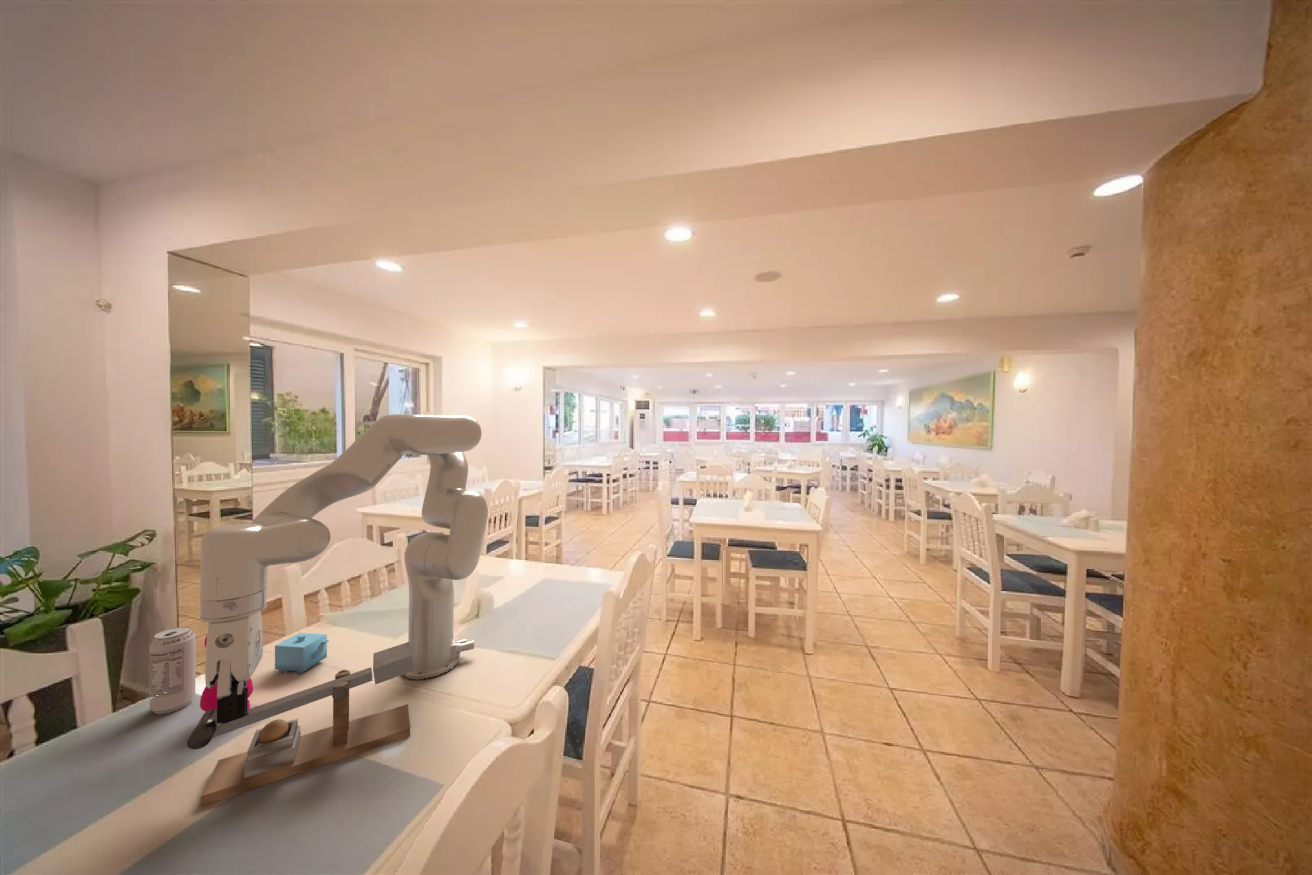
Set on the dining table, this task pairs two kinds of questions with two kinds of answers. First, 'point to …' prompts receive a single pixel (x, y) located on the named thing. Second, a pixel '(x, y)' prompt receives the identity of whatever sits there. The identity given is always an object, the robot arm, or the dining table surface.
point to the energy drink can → (172, 670)
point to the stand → (306, 747)
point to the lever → (305, 695)
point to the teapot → (300, 652)
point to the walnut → (273, 731)
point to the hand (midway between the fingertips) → (232, 717)
